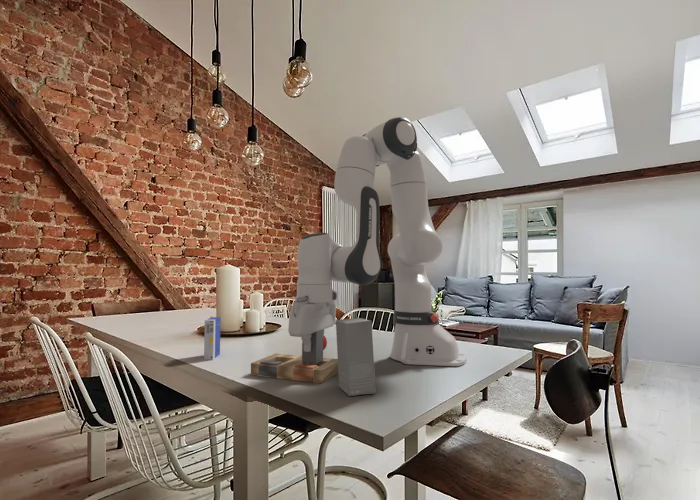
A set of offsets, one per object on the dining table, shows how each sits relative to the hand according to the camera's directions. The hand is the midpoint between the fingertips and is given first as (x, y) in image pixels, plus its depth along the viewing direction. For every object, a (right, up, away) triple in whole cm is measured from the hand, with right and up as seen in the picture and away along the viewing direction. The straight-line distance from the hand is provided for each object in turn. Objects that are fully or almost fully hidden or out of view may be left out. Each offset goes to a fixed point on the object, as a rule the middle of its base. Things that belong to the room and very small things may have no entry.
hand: (313, 349), depth 100 cm
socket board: (-4, -7, +2) cm, 8 cm away
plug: (0, -3, 0) cm, 3 cm away
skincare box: (+11, -6, -13) cm, 18 cm away
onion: (-1, -8, +23) cm, 24 cm away
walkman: (-33, -8, +20) cm, 39 cm away
